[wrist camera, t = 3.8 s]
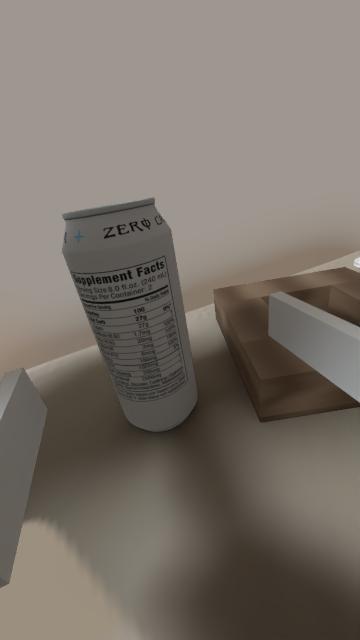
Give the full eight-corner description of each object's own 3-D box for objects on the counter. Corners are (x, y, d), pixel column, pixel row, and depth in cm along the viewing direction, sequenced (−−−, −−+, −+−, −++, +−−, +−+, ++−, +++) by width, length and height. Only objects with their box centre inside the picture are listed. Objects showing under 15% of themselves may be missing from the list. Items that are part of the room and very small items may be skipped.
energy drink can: (200, 378, 22) (173, 193, 15) (196, 439, 17) (151, 198, 10) (137, 380, 23) (83, 209, 16) (115, 438, 18) (20, 221, 11)
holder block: (260, 422, 17) (260, 379, 15) (216, 318, 31) (213, 289, 29) (489, 385, 17) (518, 337, 15) (339, 297, 31) (344, 267, 29)
